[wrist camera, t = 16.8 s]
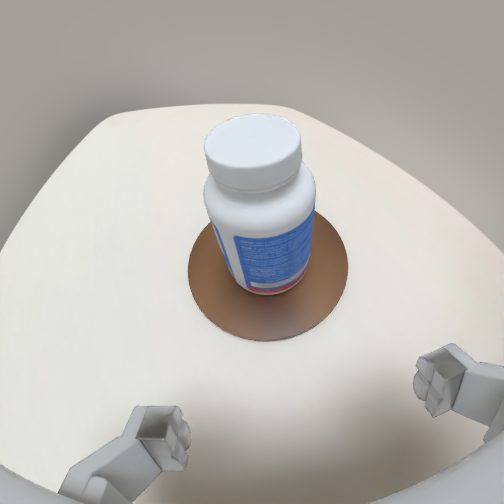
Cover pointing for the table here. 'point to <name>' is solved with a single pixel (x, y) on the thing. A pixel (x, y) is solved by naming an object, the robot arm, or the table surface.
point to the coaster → (269, 306)
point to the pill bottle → (260, 201)
